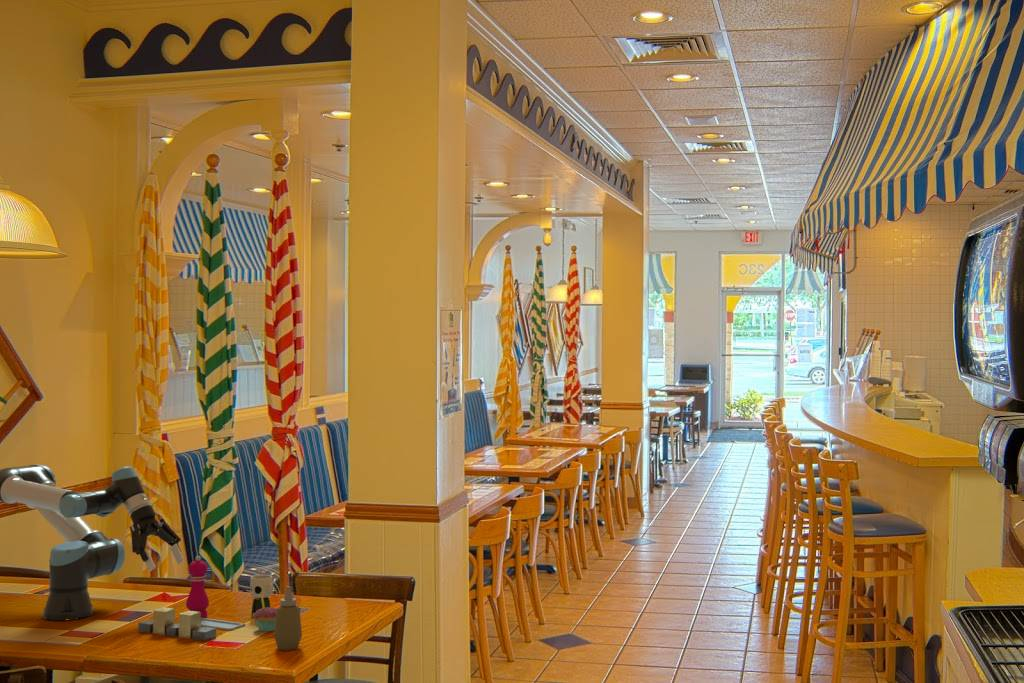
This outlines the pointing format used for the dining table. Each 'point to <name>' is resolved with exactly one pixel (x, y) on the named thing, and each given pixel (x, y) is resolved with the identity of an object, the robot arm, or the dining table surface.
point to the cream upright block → (163, 620)
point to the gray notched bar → (173, 630)
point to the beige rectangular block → (189, 623)
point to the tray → (220, 624)
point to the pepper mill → (198, 587)
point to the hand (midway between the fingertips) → (167, 566)
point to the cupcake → (265, 617)
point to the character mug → (261, 591)
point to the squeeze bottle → (288, 623)
